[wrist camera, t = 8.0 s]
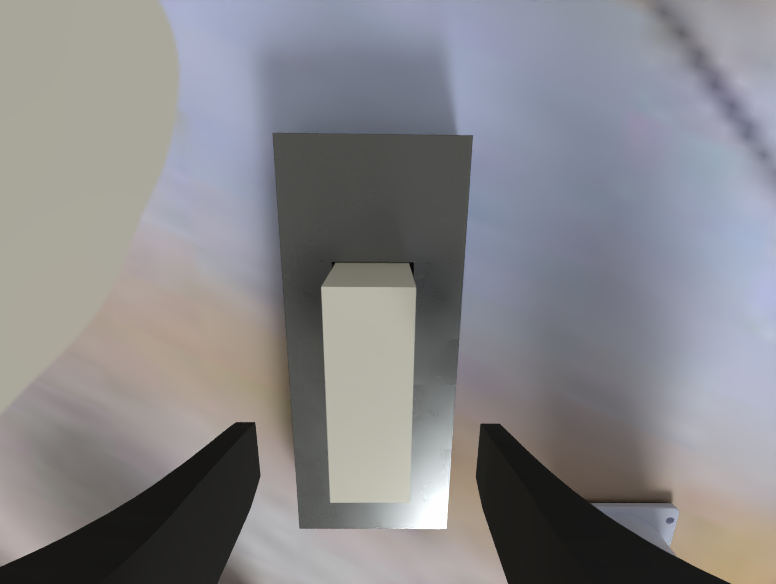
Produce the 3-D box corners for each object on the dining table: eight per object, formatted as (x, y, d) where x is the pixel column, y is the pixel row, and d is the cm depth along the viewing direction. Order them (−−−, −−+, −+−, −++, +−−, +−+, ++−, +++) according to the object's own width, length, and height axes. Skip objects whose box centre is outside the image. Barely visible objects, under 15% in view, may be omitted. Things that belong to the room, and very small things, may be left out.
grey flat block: (438, 486, 24) (446, 528, 21) (310, 486, 24) (299, 528, 21) (458, 142, 18) (472, 135, 15) (290, 140, 18) (272, 132, 15)
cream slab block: (402, 404, 22) (409, 502, 15) (346, 404, 22) (330, 502, 15) (405, 251, 20) (416, 287, 13) (343, 250, 20) (321, 286, 13)
